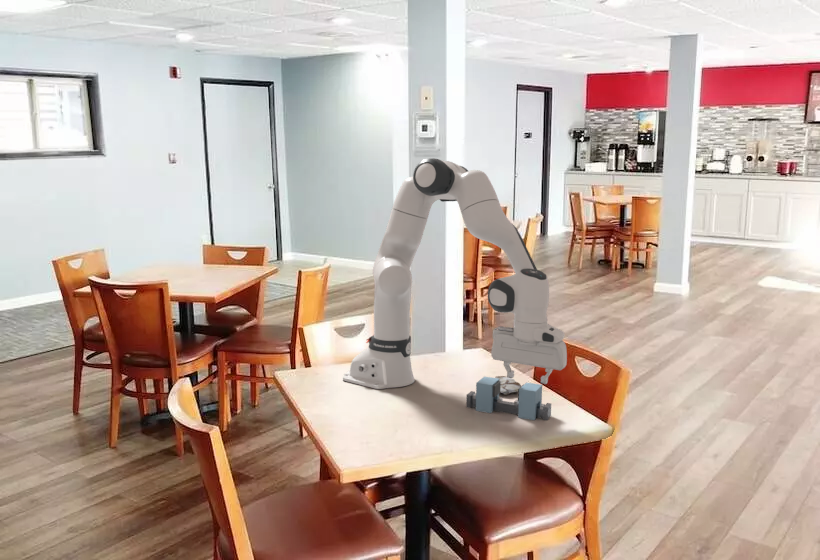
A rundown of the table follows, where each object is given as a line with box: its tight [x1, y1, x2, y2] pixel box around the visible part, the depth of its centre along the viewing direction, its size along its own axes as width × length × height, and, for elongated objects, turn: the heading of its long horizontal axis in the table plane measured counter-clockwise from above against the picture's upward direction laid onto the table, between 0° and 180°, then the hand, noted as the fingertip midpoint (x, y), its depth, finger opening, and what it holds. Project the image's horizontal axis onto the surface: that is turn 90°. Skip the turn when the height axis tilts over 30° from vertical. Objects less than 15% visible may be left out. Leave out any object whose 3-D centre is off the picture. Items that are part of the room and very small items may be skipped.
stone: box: [494, 375, 522, 396], centre depth 225 cm, size 12×9×3 cm
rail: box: [465, 390, 552, 421], centre depth 207 cm, size 23×4×4 cm, turn 65°
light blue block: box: [517, 382, 543, 421], centre depth 204 cm, size 5×6×8 cm
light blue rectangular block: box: [475, 376, 501, 414], centre depth 209 cm, size 5×6×8 cm
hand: (527, 380), depth 202 cm, fingers open, 8 cm apart
